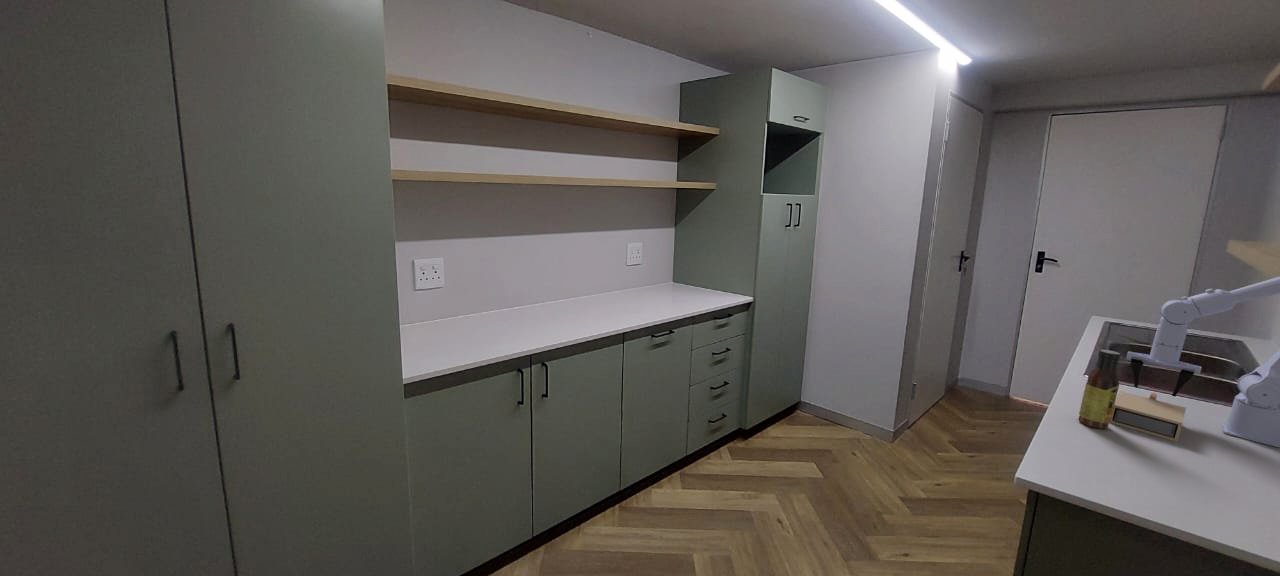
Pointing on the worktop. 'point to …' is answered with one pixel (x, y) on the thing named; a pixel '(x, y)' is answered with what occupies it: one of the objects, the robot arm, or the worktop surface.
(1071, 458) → the worktop surface
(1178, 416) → the sleeve
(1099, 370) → the sauce bottle
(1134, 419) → the tray
